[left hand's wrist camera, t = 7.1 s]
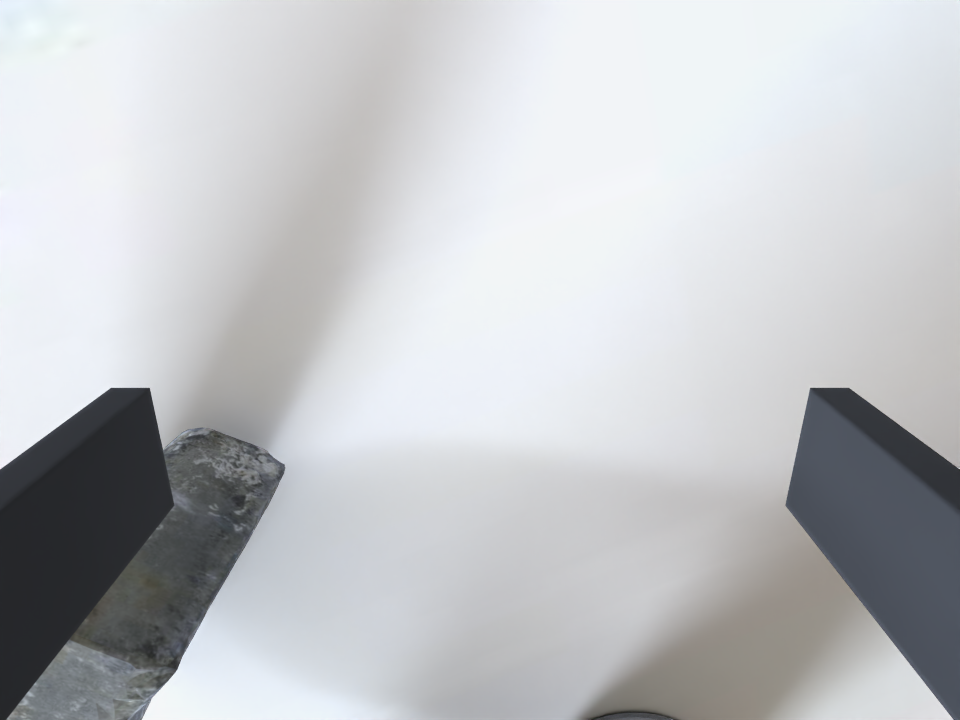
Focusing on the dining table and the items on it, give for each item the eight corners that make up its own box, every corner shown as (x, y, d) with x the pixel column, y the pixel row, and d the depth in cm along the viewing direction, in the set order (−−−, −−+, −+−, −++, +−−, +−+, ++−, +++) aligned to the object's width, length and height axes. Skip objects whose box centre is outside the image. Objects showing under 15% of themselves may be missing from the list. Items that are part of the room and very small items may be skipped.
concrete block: (199, 382, 42) (-21, 590, 24) (315, 444, 44) (194, 683, 26) (65, 635, 51) (-176, 937, 32) (168, 679, 52) (-5, 990, 34)
